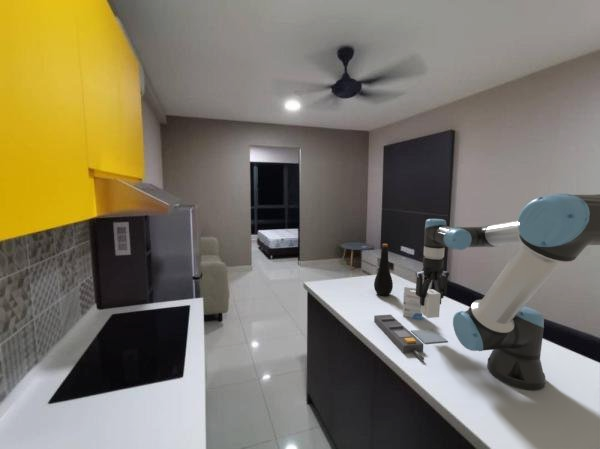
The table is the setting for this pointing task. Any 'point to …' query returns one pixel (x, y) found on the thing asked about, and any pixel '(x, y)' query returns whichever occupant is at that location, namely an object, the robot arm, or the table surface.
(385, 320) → the power strip
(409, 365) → the table surface
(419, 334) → the mat
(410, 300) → the ink box
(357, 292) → the table surface
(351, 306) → the table surface
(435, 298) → the block
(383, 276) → the bottle
